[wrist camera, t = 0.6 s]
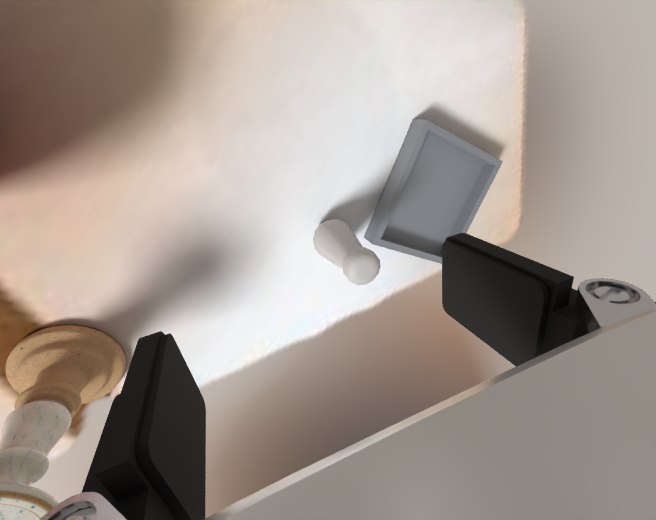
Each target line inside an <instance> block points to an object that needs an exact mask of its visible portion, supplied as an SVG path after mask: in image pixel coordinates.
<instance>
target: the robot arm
mask: <svg viewBox="0 0 656 520" xmlns="http://www.w3.org/2000/svg"><path fill="white" fill-rule="evenodd" d="M573 279H574V277H573V276H570V275H568V274H565V273H563V272H560V271H558V270H555V269H553V268H550V267H548V266H545V265H543V264H540V263H538V262H535V261H533V260H530V259H528V258H525V257H523V256H520V255H518V254H515V253H513V252H511V251H508V250H506V249H503V248H501V247H498V246H496V245H493V244H491V243H488V242H486V241H483V240H481V239H478V238H476V237H473V236H471V235H468V234H466V233H459V234H456V235H453V236H450V237H447V238H446V240H445V242H444V243H443V245H442V300H443V301H442V303H443V308H444V310H445V311H446V313H447V314H448V315H450V316H451V317H452V318H454V319H455V320H456V321H458V322H459V323H460V324H461V325H463V326H464V327H465V328H467V329H468V330H469V331H471V332H472V333H473V334H475V335H476V336H477V337H478V338H480V339H481V340H482V341H484V342H485V343H486V344H488V345H489V346H490V347H492V348H493V349H494V350H495V351H497V352H498V353H499V354H501V355H502V356H503V357H505V358H506V359H507V360H508V361H510V362H511V363H512V364H514V365H515V366H516V367H515V368H512V369H510V370H508V371H506V372H504V373H502V374H500V375H498V376H495V377H493V378H491V379H489V380H487V381H485V382H483V383H481V384H479V385H477V386H474V387H472V388H470V389H468V390H466V391H464V392H462V393H460V394H458V395H455V396H453V397H451V398H449V399H447V400H445V401H443V402H441V403H439V404H436V405H434V406H432V407H430V408H428V409H426V410H424V411H422V412H420V413H418V414H416V415H413V416H411V417H409V418H407V419H405V420H403V421H401V422H399V423H397V424H395V425H393V426H390V427H388V428H386V429H384V430H382V431H380V432H378V433H376V434H374V435H372V436H370V437H368V438H366V439H364V440H362V441H359V442H357V443H355V444H354V445H351V446H349V447H347V448H345V449H343V450H341V451H339V452H337V453H335V454H333V455H331V456H328V457H327V458H324V459H322V460H320V461H318V462H316V463H314V464H312V465H310V466H308V467H306V468H304V469H302V470H300V471H297V472H296V473H293V474H292V475H290V476H288V477H286V478H284V479H282V480H280V481H278V482H276V483H274V484H272V485H270V486H268V487H266V488H264V489H262V490H260V491H258V492H256V493H254V494H252V495H250V496H248V497H246V498H244V499H242V500H240V501H238V502H236V503H234V504H232V505H230V506H228V507H226V508H224V509H222V510H220V511H219V512H217V513H215V514H213V515H211V516H210V517H208V518H206V519H205V442H206V439H205V437H206V431H205V430H206V410H205V403H204V399H203V397H202V395H201V393H200V391H199V389H198V386H197V384H196V382H195V380H194V378H193V376H192V374H191V372H190V370H189V368H188V366H187V364H186V362H185V360H184V358H183V356H182V354H181V352H180V350H179V348H178V346H177V344H176V342H175V340H174V338H173V336H172V335H171V334H167V335H165V334H164V333H163V332H161V331H160V332H157V333H154V334H151V335H148V336H145V337H142V338H139V340H138V342H137V345H136V348H135V351H134V355H133V358H132V361H131V364H130V367H129V370H128V373H127V376H126V379H125V382H124V385H123V388H122V391H121V394H119V395H117V396H116V397H115V399H114V401H113V403H112V406H111V409H110V412H109V415H108V417H107V420H106V423H105V426H104V429H103V432H102V435H101V438H100V441H99V444H98V446H97V449H96V452H95V455H94V458H93V461H92V464H91V467H90V470H89V473H88V475H87V478H86V481H85V484H84V487H83V490H82V493H80V494H77V495H75V496H72V497H70V498H68V499H66V500H65V501H63V502H61V503H59V504H58V505H56V506H55V507H54V508H53V509H51V510H50V511H49V512H48V513H46V514H45V515H44V516H43V517H42V518H41V519H40V520H656V302H654V301H653V300H652V299H651V298H650V296H649V295H648V294H647V293H646V292H644V291H643V290H642V289H640V288H638V287H636V286H634V285H632V284H629V283H626V282H623V281H618V280H614V279H604V278H598V279H589V280H585V281H583V282H581V283H580V285H579V286H578V291H577V290H574V289H572V283H573Z"/></svg>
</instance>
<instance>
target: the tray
mask: <svg viewBox="0 0 656 520" xmlns="http://www.w3.org/2000/svg"><path fill="white" fill-rule="evenodd" d="M502 162H503V161H501V160H499V159H497V158H496V157H494V156H492V155H490V154H488V153H486V152H485V151H483V150H481V149H479V148H477V147H476V146H474V145H472V144H470V143H468V142H467V141H465V140H463V139H461V138H459V137H457V136H456V135H454V134H452V133H450V132H448V131H447V130H445V129H443V128H441V127H439V126H437V125H436V124H434V123H432V122H430V121H428V120H427V119H413V121H412V123H411V125H410V128H409V130H408V133H407V135H406V137H405V140H404V142H403V145H402V147H401V149H400V152H399V154H398V157H397V159H396V161H395V164H394V166H393V169H392V171H391V173H390V176H389V178H388V181H387V183H386V185H385V188H384V190H383V193H382V195H381V197H380V200H379V202H378V205H377V207H376V209H375V212H374V214H373V217H372V219H371V221H370V224H369V226H368V229H367V231H366V233H365V236H364V238H365V239H367V240H368V241H369V242H371V243H372V244H374V245H378V246H381V247H385V248H388V249H392V250H395V251H399V252H402V253H406V254H409V255H413V256H417V257H420V258H424V259H427V260H431V261H434V262H438V263H441V264H442V245H443V243H444V242H445V240H446V238H447V237H450V236H453V235H456V234H459V233H466V232H467V230H468V228H469V226H470V225H471V223H472V221H473V219H474V217H475V215H476V213H477V211H478V209H479V207H480V205H481V203H482V201H483V199H484V197H485V195H486V193H487V191H488V189H489V187H490V186H491V184H492V182H493V180H494V178H495V176H496V174H497V172H498V170H499V168H500V166H501V164H502Z"/></svg>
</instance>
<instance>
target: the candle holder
mask: <svg viewBox="0 0 656 520" xmlns="http://www.w3.org/2000/svg"><path fill="white" fill-rule="evenodd" d="M125 366H126V361H125V355H124V352H123V350H122V348H121V347H120V345H119V344H118V343H117V342H116V341H115V340H114V339H113V338H111V337H110V336H108V335H107V334H105V333H103V332H101V331H98V330H96V329H92V328H89V327H84V326H76V325H62V326H54V327H49V328H45V329H42V330H39V331H37V332H35V333H32V334H31V335H29V336H27V337H26V338H24V339H23V340H22V341H20V342H19V343H18V344H17V345H16V346H15V347H14V348H13V350H12V351H11V353H10V355H9V356H8V358H7V362H6V375H7V379H8V381H9V383H10V384H11V386H12V387H13V388H14V389H15V390H16V391H17V392H18V393H20V395H19V396H18V398H17V400H16V402H15V410H14V411H13V412H11V413H10V414H9V416H8V417H7V418H6V420H5V421H4V424H3V427H2V432H1V438H0V520H40V519H41V518H42V517H43V516H44V515H45V514H46V513H48V512H49V511H50V510H51V509H53V508H54V507H55V506H56V505H58V504H59V503H58V502H57V501H56V500H55V499H54V498H53V497H52V496H51V495H49V494H48V493H46V492H44V491H42V490H39V489H37V488H34V487H30V485H32V484H33V483H35V482H37V481H38V480H39V479H41V478H42V477H43V476H44V475H45V474H46V472H47V470H48V468H49V460H48V458H47V455H48V454H49V452H50V451H51V449H52V448H53V447H54V446H55V445H56V443H57V442H58V441H59V440H60V439H61V438H62V437H63V436H64V435H65V433H66V432H67V431H68V429H69V427H70V424H71V417H73V416H74V415H75V414H76V413H77V412H78V411H79V409H80V407H81V404H85V403H88V402H91V401H94V400H97V399H99V398H101V397H103V396H104V395H106V394H107V393H109V392H110V391H111V390H112V389H114V388H115V387H116V385H117V384H118V383H119V382H120V380H121V378H122V377H123V374H124V371H125Z"/></svg>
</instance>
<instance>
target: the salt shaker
mask: <svg viewBox="0 0 656 520" xmlns="http://www.w3.org/2000/svg"><path fill="white" fill-rule="evenodd" d="M313 242H314V246H315V249H316V250H317V252H318V253H319V254H320V255H321V256H323V257H324V258H326V259H327V260H329V261H331V262H332V263H334V264H336V265H337V266H339V267H341V268H342V269H343V273H344V275H345V276H346V277H347V278H348V280H349V281H350V282H352V283H354V284H357V285H364V284H367V283H369V282H371V281H372V280H373V279H374V278H375V277H376V276H377V275H378V272H379V269H380V260H379V259H378V257H377V256H376V254H375V253H374V252H373V251H371V250H369V249H367V248H365V247H362V245H361V244H360V242H359V241H358V239H357V237H356V236H355V234H354V232H353V231H352V229H351V228H350V227H349V225H348V224H347V223H346V222H344V221H342V220H339V219H330V220H327V221H325V222H323V223H321V224H319V226H318V228H317V229H316V231H315V234H314V238H313Z"/></svg>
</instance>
